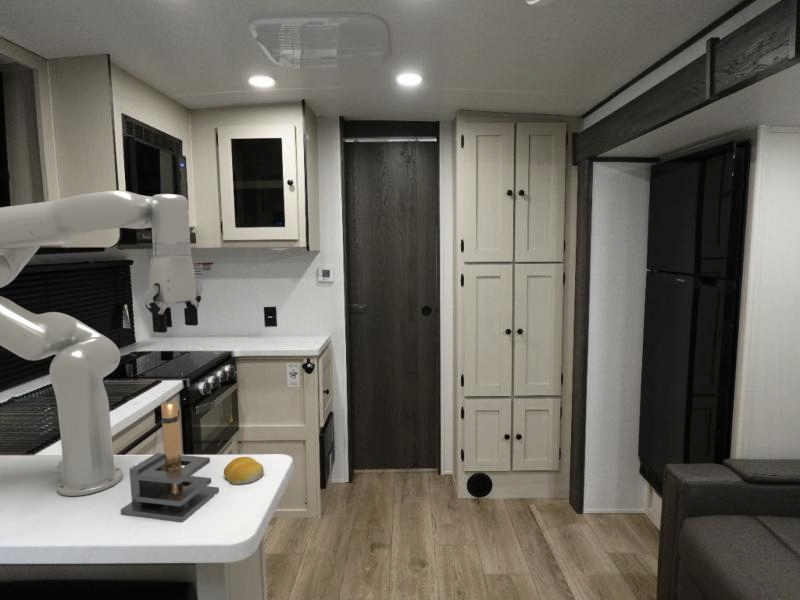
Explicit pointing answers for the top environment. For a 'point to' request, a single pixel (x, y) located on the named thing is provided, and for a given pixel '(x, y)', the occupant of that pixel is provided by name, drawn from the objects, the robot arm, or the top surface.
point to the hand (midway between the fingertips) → (176, 328)
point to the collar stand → (153, 493)
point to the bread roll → (243, 470)
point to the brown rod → (171, 442)
